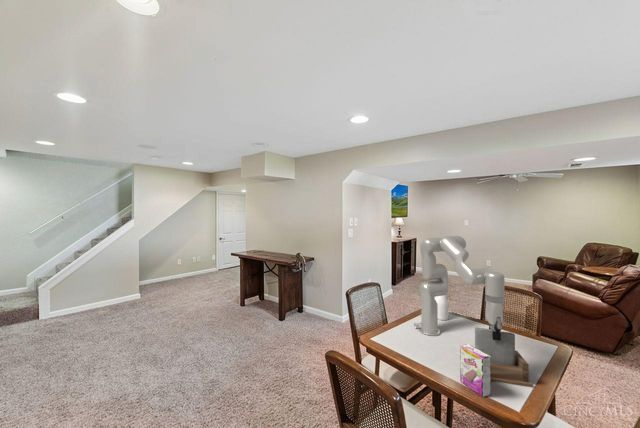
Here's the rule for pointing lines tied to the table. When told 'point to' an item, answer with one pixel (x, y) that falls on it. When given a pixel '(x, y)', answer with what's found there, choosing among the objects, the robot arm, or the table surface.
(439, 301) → the white tall cylinder
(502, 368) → the brown rectangular open tray
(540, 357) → the table surface
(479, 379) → the candy bar box
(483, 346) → the hip flask
